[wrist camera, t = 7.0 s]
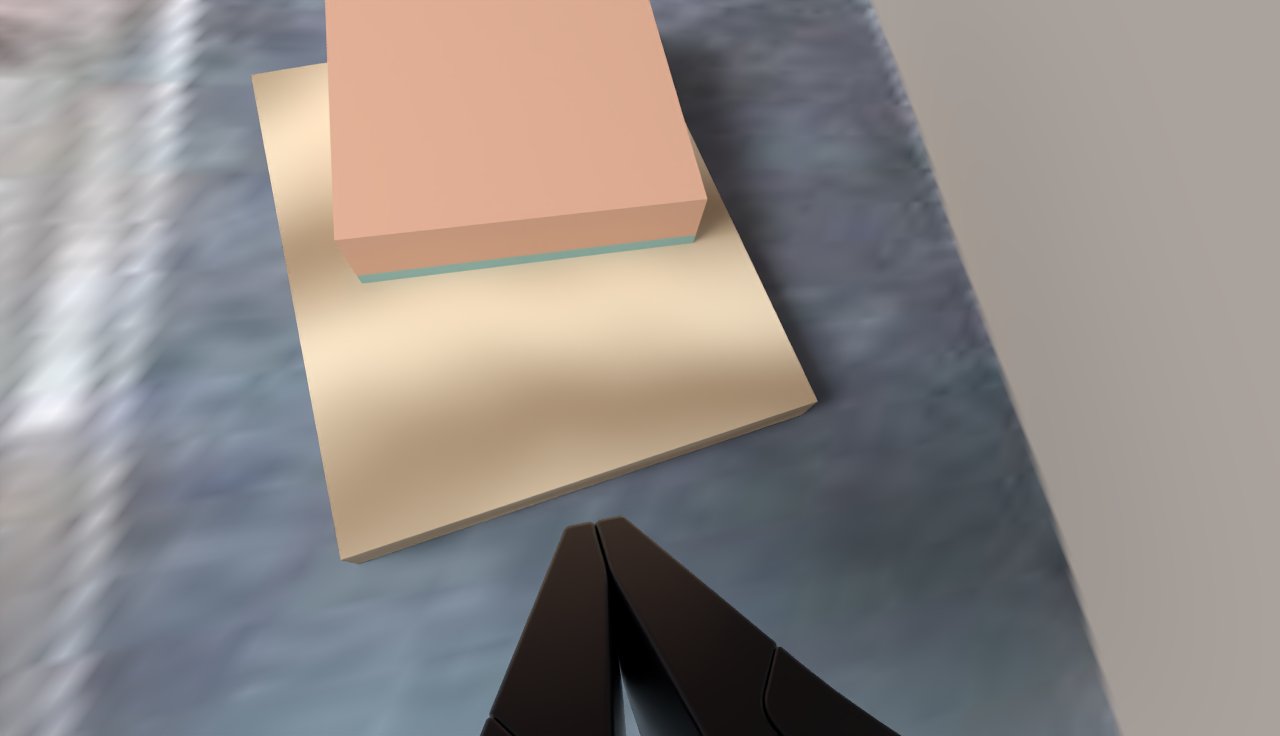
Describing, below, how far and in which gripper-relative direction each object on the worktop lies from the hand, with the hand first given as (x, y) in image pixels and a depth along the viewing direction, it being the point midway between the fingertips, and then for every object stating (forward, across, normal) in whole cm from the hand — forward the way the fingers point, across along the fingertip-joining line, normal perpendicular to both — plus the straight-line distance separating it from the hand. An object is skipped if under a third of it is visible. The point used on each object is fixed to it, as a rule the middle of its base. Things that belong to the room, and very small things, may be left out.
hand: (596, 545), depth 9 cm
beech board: (+11, 0, -2) cm, 11 cm away
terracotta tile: (+9, 0, -3) cm, 9 cm away
